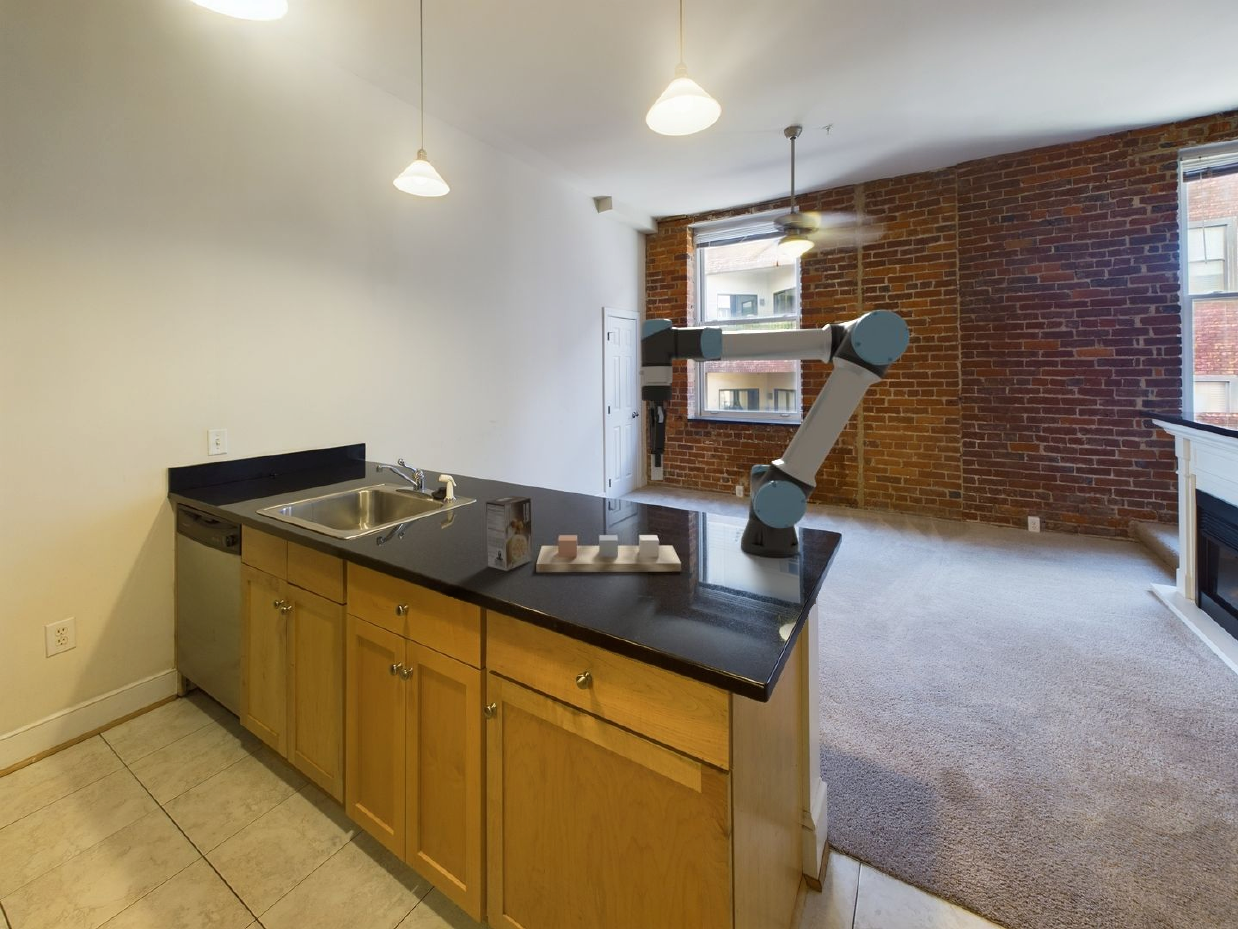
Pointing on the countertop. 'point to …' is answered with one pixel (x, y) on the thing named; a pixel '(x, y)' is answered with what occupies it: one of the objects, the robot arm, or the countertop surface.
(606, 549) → the cap middle
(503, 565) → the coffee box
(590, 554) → the mount board
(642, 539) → the cap
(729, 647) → the countertop surface
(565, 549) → the cap
